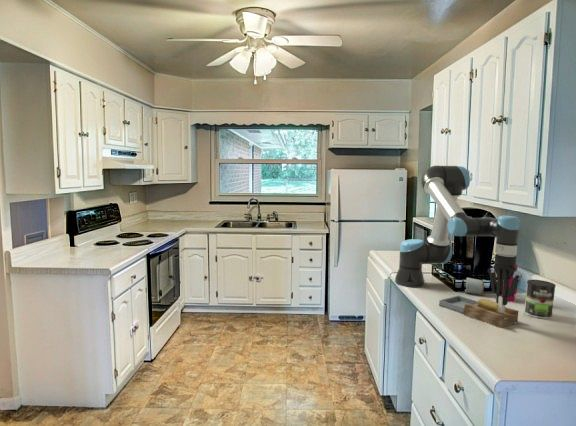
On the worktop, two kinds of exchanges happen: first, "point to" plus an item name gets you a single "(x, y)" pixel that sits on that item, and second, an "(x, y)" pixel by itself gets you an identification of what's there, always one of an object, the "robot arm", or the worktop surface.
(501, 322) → the channel bar
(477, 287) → the ceramic mug
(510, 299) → the pepper mill
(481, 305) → the tan cube
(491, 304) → the yellow cube
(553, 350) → the worktop surface
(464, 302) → the tray
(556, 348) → the worktop surface
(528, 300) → the coffee can
